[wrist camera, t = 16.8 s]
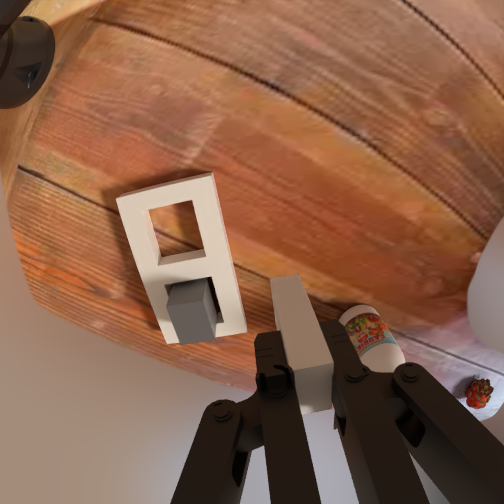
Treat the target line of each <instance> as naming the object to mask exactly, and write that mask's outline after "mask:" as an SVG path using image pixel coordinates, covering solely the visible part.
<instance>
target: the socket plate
mask: <svg viewBox="0 0 504 504" xmlns="http://www.w3.org/2000/svg"><path fill="white" fill-rule="evenodd" d="M188 200H192V201H193V205H194V209H195V214H196V218H197V222H198V226H199V230H200V234H201V238H202V242H203V245H204V249H201V250H196V251H191V252H185V253H180V254H175V255H170V256H165V257H162V256H161V252H160V249H159V246H158V243H157V239H156V236H155V233H154V229H153V226H152V222H151V219H150V215H149V212H148V210H149V209H153V208H157V207H162V206H166V205H170V204H175V203H179V202H184V201H188ZM116 202H117V205H118V208H119V212H120V215H121V219H122V222H123V225H124V228H125V231H126V235H127V238H128V241H129V244H130V247H131V250H132V253H133V256H134V259H135V262H136V265H137V268H138V270H139V273H140V276H141V279H142V282H143V284H144V287H145V290H146V292H147V295H148V298H149V300H150V303H151V306H152V308H153V311H154V313H155V316H156V318H157V321H158V323H159V326H160V328H161V331H162V333H163V335H164V338H165V340H166V342H167V344H171V343H179V340H178V337H177V335H176V332H175V329H174V327H173V324H172V322H171V319H170V316H169V314H168V311H167V308H166V305H167V302H168V298H169V295H170V292H171V289H172V287H171V283H177V282H183V281H188V280H194V279H199V278H205V277H210V276H212V280H213V283H214V287H215V291H216V294H217V298H218V302H219V305H220V309H221V312H218V313H217V321H216V337H220V336H226V335H233V334H239V333H244V332H247V322H246V317H245V313H244V309H243V304H242V300H241V296H240V292H239V287H238V283H237V279H236V274H235V270H234V266H233V261H232V257H231V253H230V248H229V244H228V239H227V235H226V230H225V226H224V221H223V217H222V212H221V208H220V203H219V199H218V194H217V190H216V185H215V180H214V176H213V172H209V173H205V174H200V175H196V176H191V177H187V178H182V179H178V180H174V181H170V182H165V183H161V184H157V185H153V186H149V187H145V188H141V189H138V190H134V191H130V192H126V193H123V194H121V195H120V196H119V197H117V198H116Z"/></svg>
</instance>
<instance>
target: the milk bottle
mask: <svg viewBox="0 0 504 504" xmlns="http://www.w3.org/2000/svg"><path fill="white" fill-rule="evenodd" d="M339 322H340V323H341V324H343V325H344V327H345V329H346V331H347V334H348V335H349V337H350V340H351V341H352V343H353V345H354V347H355V350H356V352H357V354H358V356H359V358H360V360H361V362H362V364H364V365H366V366H367V367H369V369H370V370H371V371H375V372H394V370H395V368H396V367H397V366H399V365H400V364H403V363H405V359H404V356H403V353H402V351H401V349H400V347H399V346H398V344H397V342H396V341H395V339H394V337H393V336H392V334H391V333H390V331H389V329H388V328H387V326H386V325H385V323H384V322H383V320H382V319H381V317H380V316H379V314H378V313H377V312H376V310H375V309H374V308H372V307H371V306H368V305H357V306H354V307H352V308H350V309H348V310H347V311H346V312H344V313H343V315H342V316H341V317H340V319H339Z"/></svg>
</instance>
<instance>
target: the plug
mask: <svg viewBox="0 0 504 504" xmlns="http://www.w3.org/2000/svg"><path fill="white" fill-rule="evenodd" d="M166 308H167V311H168V314H169V316H170V319H171V322H172V324H173V327H174V329H175V332H176V335H177V337H178V340H179V342H180V345H183V344H191V343H198V342H205V341H212V340H215V338H216V321H217V312H216V308H215V305H214V301H213V297H212V294H211V290H210V287H209V283H208V279H207V277H205V278H199V279H194V280H188V281H183V282H177V283H173V286H172V289H171V292H170V295H169V298H168V302H167V305H166Z"/></svg>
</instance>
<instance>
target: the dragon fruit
mask: <svg viewBox="0 0 504 504" xmlns="http://www.w3.org/2000/svg"><path fill="white" fill-rule="evenodd" d="M493 390H494V388H492V386H490V380H489V379H487V380H485V379H481V380H479V381H475V382H472V384H471V388H469V389H467V391H465V395H466V396H467V400H466V403H467V405H468V406H469V407H472V408H474V409H480V408H484V407H485V406H486V403H487V402H488V401H489V400H490V397H491V396H490V394H491V393H492V392H493Z"/></svg>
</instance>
